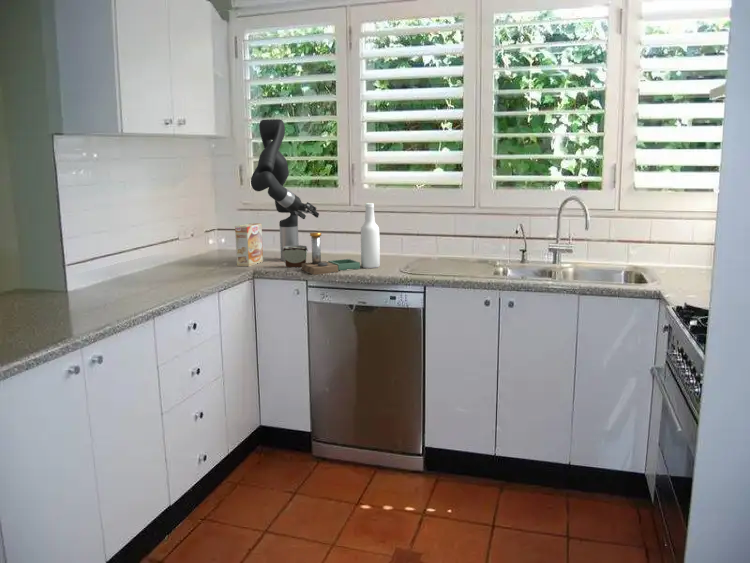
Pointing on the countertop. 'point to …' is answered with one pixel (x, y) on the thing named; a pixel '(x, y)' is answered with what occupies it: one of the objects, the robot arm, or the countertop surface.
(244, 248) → the coffeecake box
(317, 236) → the pin
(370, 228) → the alcohol
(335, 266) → the block
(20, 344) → the countertop surface
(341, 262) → the tray
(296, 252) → the food container
